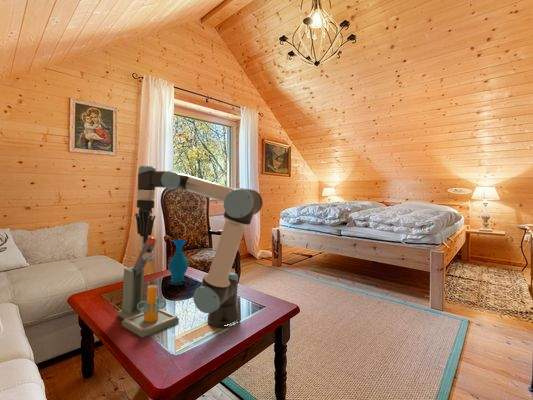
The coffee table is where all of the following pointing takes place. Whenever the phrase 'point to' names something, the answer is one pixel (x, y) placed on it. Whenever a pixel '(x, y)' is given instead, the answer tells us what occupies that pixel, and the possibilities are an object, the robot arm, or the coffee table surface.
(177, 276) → the vase
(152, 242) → the press lever
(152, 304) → the cylinder
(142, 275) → the press frame
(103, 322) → the coffee table surface
